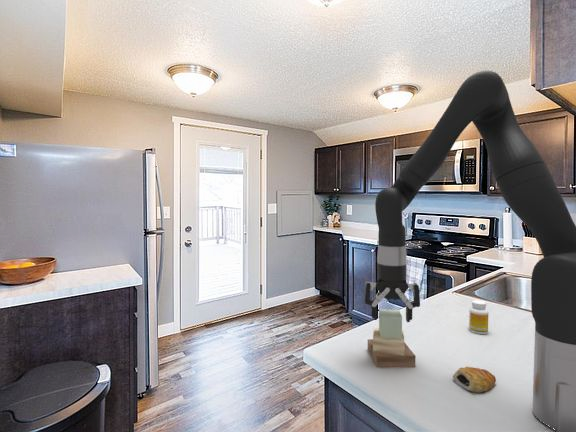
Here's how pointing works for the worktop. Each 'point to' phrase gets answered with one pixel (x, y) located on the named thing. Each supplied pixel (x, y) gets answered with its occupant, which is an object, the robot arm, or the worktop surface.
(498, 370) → the worktop surface
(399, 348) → the block top
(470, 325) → the supplement bottle
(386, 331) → the sage block
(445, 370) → the worktop surface
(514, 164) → the robot arm
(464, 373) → the pastry
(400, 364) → the block bottom
